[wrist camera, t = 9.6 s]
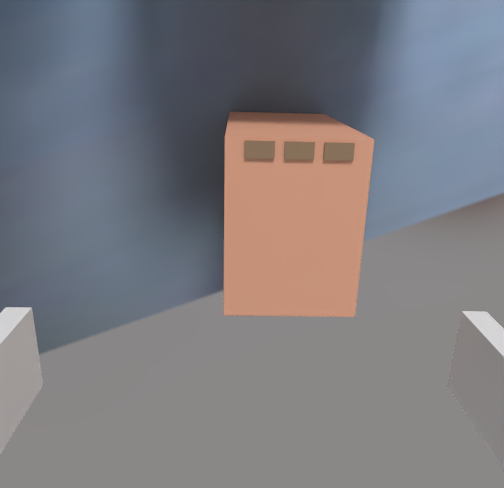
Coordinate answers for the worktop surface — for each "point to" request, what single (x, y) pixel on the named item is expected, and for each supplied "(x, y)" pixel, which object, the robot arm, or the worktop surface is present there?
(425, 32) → the worktop surface
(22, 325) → the robot arm
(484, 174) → the worktop surface
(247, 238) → the stub
